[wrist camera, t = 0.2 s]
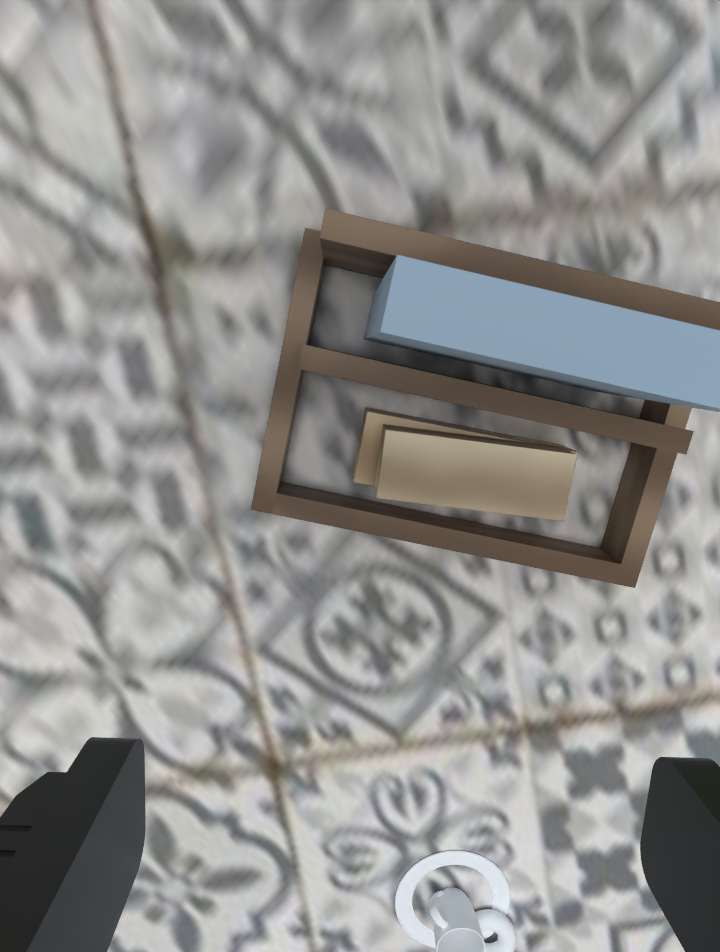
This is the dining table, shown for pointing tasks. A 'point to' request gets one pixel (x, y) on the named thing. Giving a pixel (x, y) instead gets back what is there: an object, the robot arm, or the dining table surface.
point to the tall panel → (545, 334)
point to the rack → (474, 403)
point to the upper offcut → (473, 472)
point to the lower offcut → (376, 419)
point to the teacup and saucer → (458, 908)
